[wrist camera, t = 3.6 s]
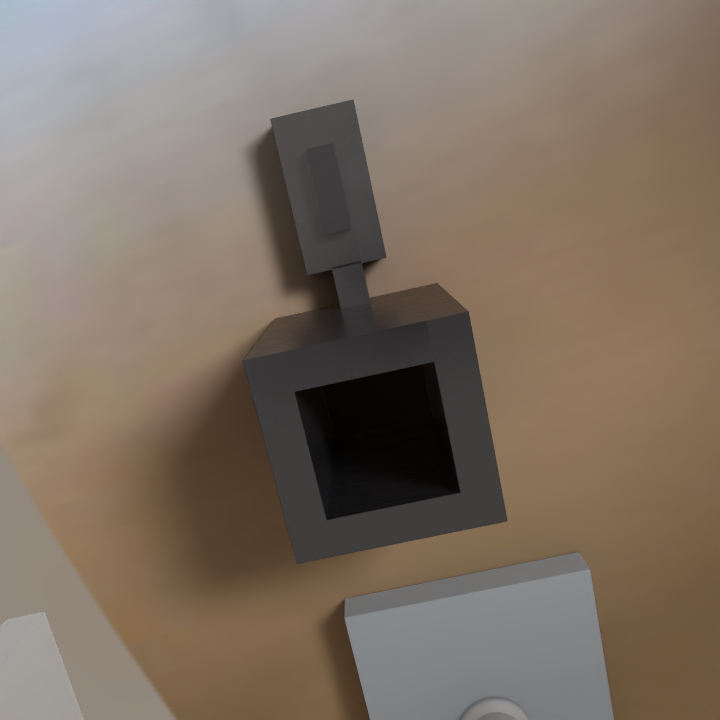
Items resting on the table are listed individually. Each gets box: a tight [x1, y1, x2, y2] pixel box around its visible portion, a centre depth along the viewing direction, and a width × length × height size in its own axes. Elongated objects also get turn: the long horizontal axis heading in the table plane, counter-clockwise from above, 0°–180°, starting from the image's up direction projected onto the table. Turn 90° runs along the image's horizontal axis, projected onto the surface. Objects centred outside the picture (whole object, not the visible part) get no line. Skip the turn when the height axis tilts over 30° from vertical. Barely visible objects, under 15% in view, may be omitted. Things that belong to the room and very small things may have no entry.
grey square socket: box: [243, 100, 507, 564], centre depth 24 cm, size 15×7×8 cm, turn 12°
